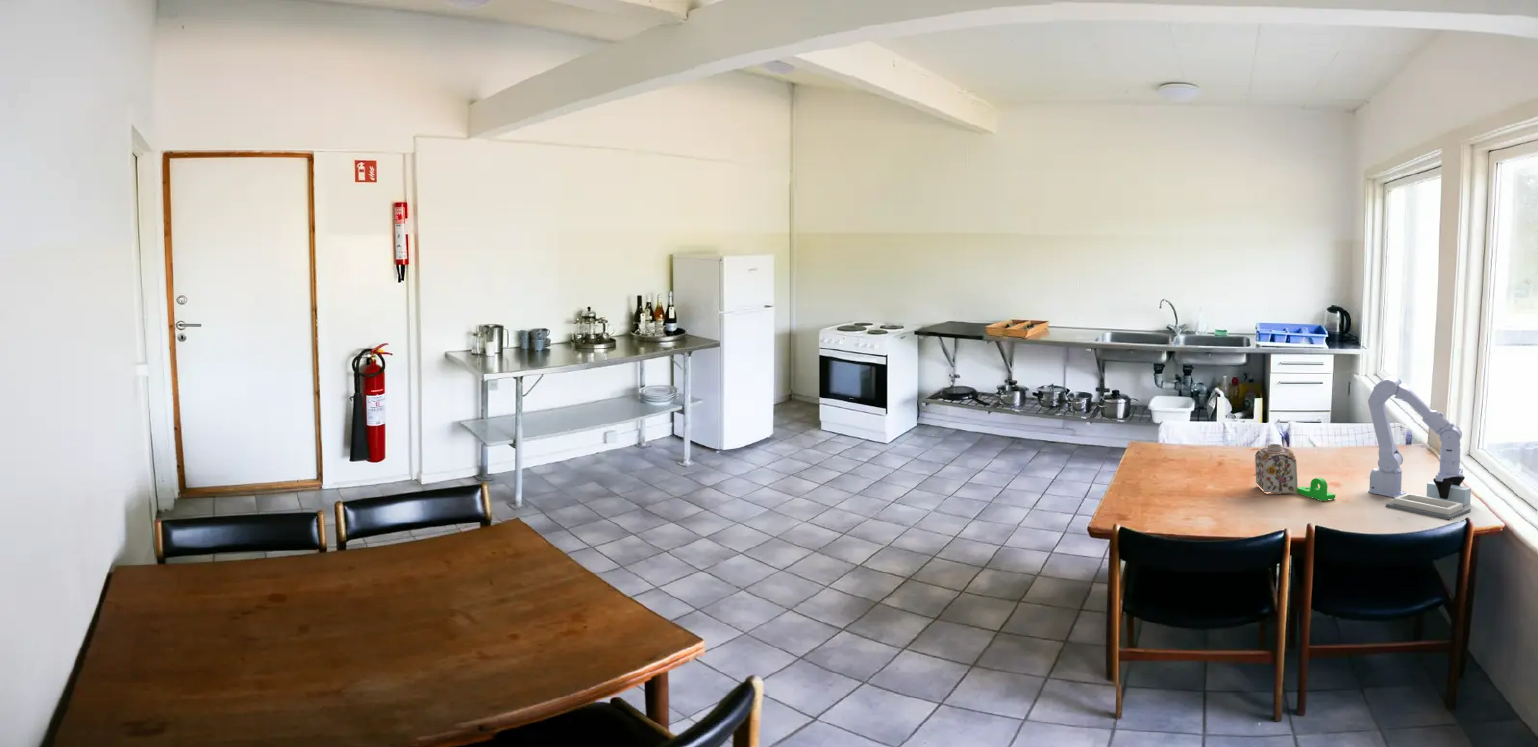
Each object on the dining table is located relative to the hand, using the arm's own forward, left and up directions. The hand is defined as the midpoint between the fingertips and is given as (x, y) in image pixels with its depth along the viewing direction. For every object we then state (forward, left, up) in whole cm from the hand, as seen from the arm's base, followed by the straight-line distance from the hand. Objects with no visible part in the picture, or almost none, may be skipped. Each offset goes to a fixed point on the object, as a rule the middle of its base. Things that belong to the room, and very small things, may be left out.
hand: (1448, 496), depth 321 cm
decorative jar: (-45, -30, -2) cm, 54 cm away
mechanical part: (-32, -27, -2) cm, 42 cm away
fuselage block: (0, 0, -2) cm, 2 cm away
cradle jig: (0, -14, -2) cm, 14 cm away
